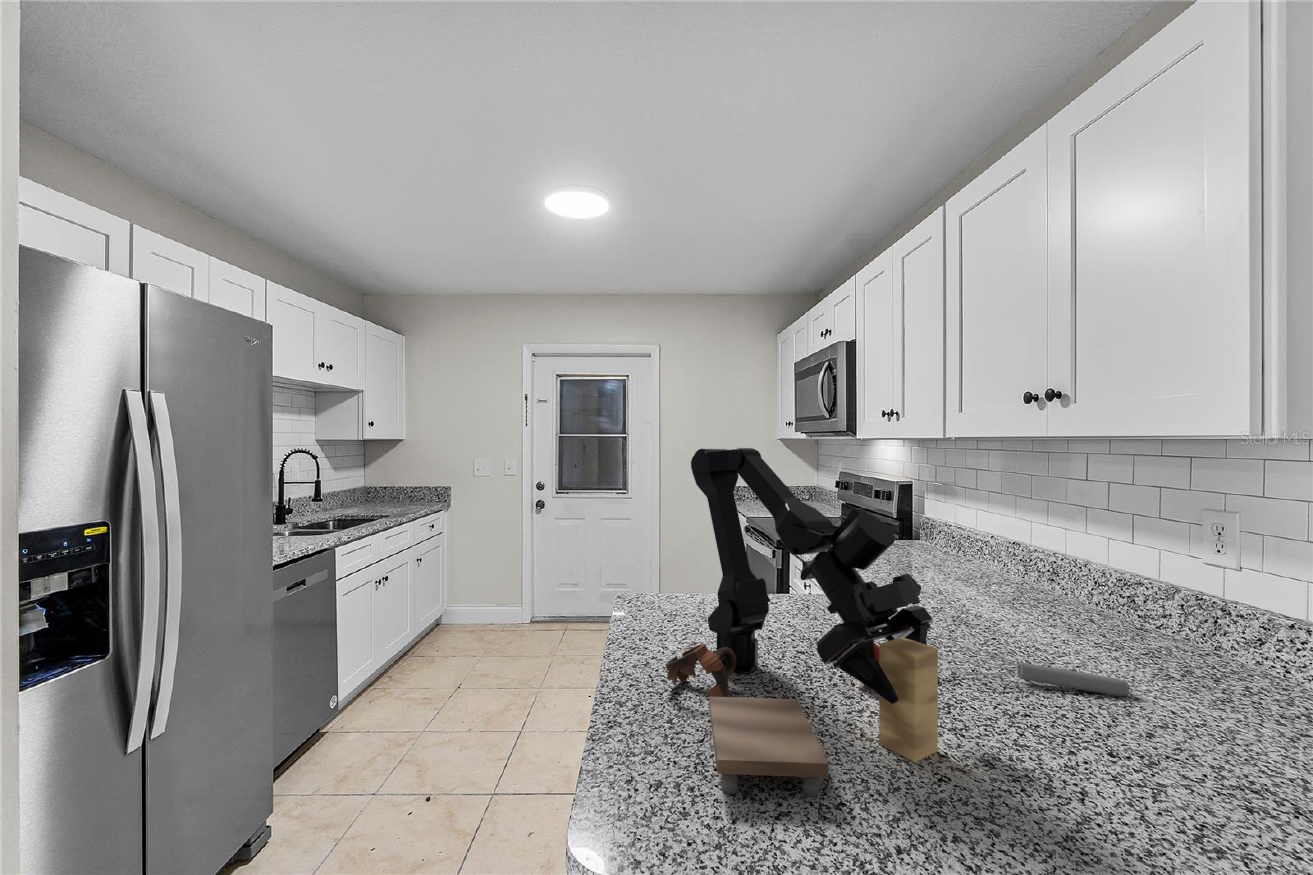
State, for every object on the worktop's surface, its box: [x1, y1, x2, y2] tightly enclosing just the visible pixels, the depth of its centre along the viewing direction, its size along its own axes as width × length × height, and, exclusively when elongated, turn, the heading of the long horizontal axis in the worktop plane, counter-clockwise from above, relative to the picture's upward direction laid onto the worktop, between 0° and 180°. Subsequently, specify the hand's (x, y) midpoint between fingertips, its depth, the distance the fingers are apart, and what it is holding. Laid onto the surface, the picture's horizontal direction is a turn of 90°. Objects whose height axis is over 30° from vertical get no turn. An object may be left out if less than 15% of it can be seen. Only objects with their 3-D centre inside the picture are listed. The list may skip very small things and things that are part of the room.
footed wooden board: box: [708, 696, 829, 798], centre depth 70 cm, size 16×12×4 cm
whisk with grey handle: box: [926, 635, 1144, 698], centre depth 94 cm, size 6×34×6 cm, turn 72°
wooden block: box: [878, 637, 939, 763], centre depth 73 cm, size 5×5×13 cm
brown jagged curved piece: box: [664, 643, 736, 698], centre depth 90 cm, size 12×10×8 cm
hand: (917, 693), depth 72 cm, fingers open, 9 cm apart
